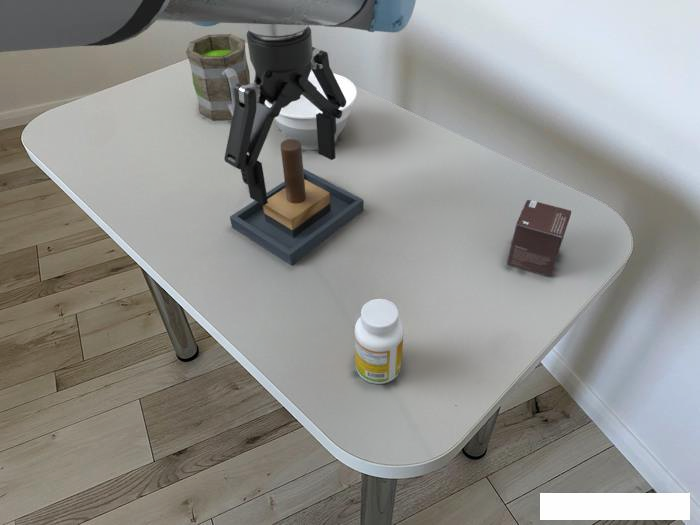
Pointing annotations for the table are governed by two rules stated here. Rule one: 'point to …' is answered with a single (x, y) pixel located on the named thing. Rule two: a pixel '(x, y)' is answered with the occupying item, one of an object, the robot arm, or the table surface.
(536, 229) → the box
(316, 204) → the peg on wooden base
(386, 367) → the supplement bottle
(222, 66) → the mug
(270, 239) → the tray
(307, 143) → the bowl
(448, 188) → the table surface
